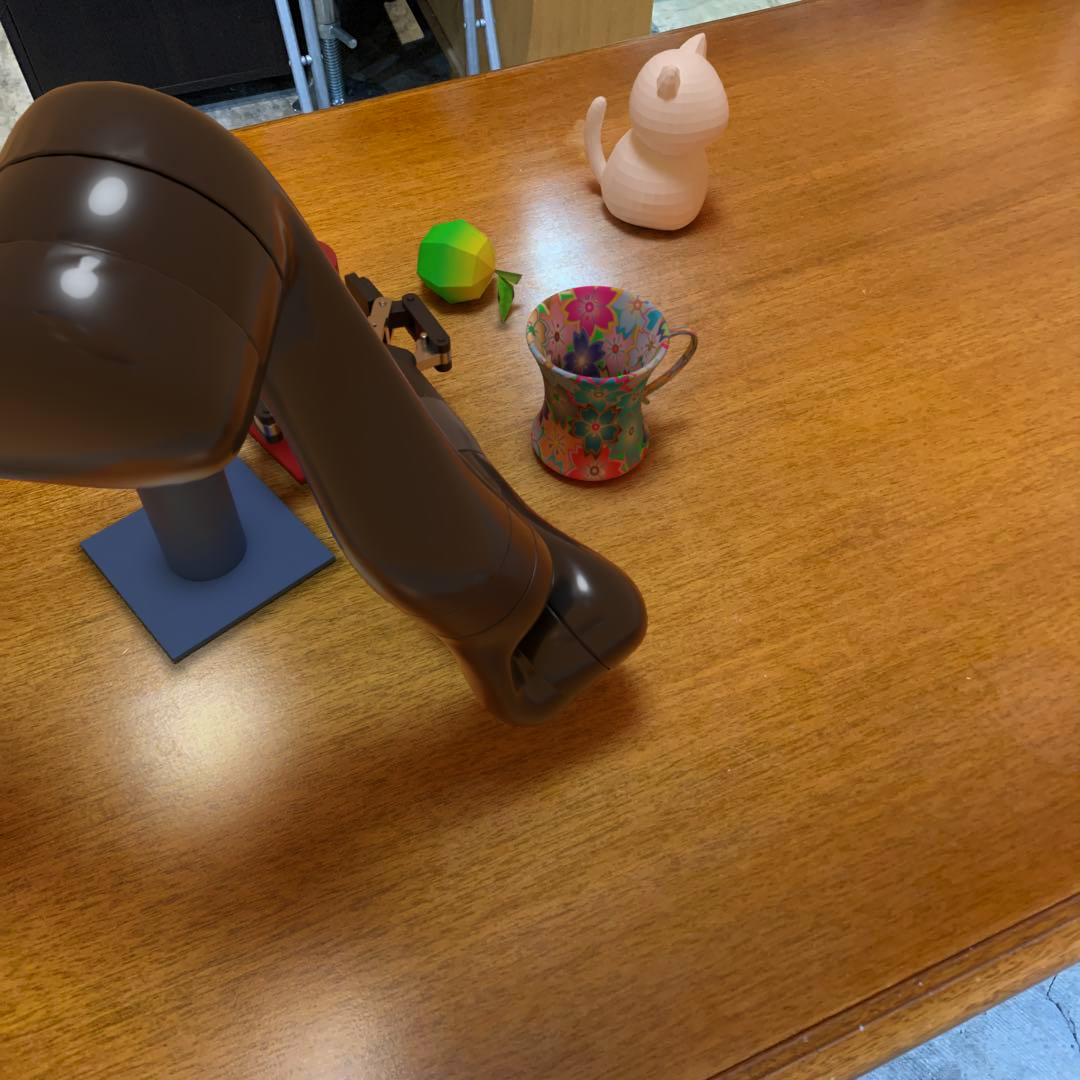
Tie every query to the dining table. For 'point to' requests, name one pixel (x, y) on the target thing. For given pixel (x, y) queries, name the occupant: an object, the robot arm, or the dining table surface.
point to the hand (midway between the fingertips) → (294, 304)
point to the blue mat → (217, 604)
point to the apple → (462, 265)
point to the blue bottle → (197, 526)
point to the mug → (598, 378)
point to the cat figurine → (662, 140)
